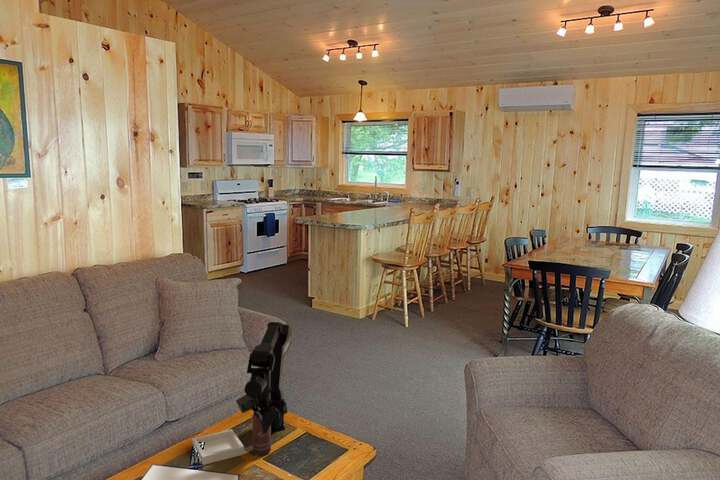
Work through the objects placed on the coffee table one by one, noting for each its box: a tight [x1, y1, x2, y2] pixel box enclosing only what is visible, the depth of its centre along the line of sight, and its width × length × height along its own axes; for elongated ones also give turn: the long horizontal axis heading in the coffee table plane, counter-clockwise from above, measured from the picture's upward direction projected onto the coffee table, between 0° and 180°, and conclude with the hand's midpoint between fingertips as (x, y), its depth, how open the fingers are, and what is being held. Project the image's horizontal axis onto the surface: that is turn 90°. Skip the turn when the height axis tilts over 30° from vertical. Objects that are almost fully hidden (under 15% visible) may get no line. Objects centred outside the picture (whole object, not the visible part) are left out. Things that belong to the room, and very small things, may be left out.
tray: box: [191, 429, 245, 466], centre depth 181 cm, size 14×14×3 cm
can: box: [252, 410, 272, 457], centre depth 180 cm, size 6×6×14 cm
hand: (261, 429), depth 180 cm, fingers closed on can, 5 cm apart
